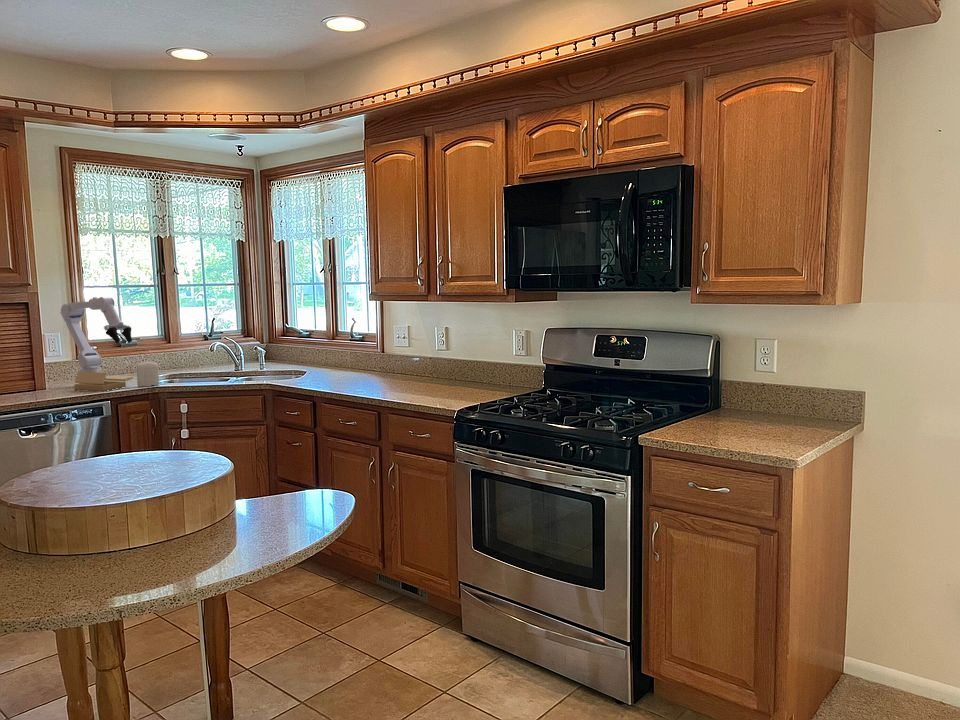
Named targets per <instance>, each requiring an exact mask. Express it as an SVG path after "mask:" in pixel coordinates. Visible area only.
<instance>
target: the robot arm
mask: <svg viewBox="0 0 960 720" xmlns="http://www.w3.org/2000/svg"><path fill="white" fill-rule="evenodd" d="M86 309H89V310H93V311H96V310H98V311H99V310H100V312H101V313H102V314H103V315H104V317H105V319H106V321H107V323H108V324H106V325H104V326H103V329H104V331H105V334H106V335H107V336H109V337H110V338H111V339H112V340H113V341H114V342H115V343H116V344H118V343H119V342H121V340H120V336H119V334H118V331H121V330H122V331H121V333H120V334H121V335H122V336H123V337H124V338H125V340H126V342H127V343H128V344H130V343H132V342H133V339H132V327H131V326H130V325H128V324H125V323H124V322H122V320H121V318H120V316H119V314H118V312H117V310H116V308H115V301H114V298H113V297H103V296H100V297H96V296H95V297H92V298H90V299H89V300H88V301H75V302H74V301H73V302H68V303H64V304H62V306H61V308H60V315H61V316H62V318H63V321H64V322H65V324H66V325H65V326H66V327H67V329H68V330H69V333H70V334H71V336H72V337H71V338H72V339H73V341H74V343H75V345H76V346H77V347H76V348H77V349H78V351H79V353H78V355H77V360H78V361H77V362H78V365H79V367H81V368H80V369H79V371H78V372H96V373H100V369H99V368H100V367H101V366H102V364H103V358H102V356H101V355H100V354H99V353H98V351H96V350H95V349H93V348H92V347H91V345H90V344H89V341H88V340H87V337H86V336H85V334H84V332H83V330H82V327H81V325H80V322H81V321H82V319H83V317H84V315H85V312H86ZM78 384H80V383H78Z"/></svg>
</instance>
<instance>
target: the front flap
mask: <svg viewBox="0 0 960 720" xmlns="http://www.w3.org/2000/svg"><path fill="white" fill-rule="evenodd" d="M106 375H108V373H107V372H99V373H96V372H79V371H78V372H77V373H76V377H75V378H74V383H75V384H79V383H90V384H103V383H104V381H106V380H105V378H106Z"/></svg>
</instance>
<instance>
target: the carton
mask: <svg viewBox="0 0 960 720" xmlns="http://www.w3.org/2000/svg"><path fill="white" fill-rule="evenodd" d="M73 386H74V391H77V390H88V391H87V392H96V391H106V392H108V391H107V390H111V391H113V390H112V389H116V388H122V387H126V388H127V385H126V381H109V380H105V381H104V383H103V384H90V383H80V384H79V383H75V384H73ZM122 389H123V388H122Z"/></svg>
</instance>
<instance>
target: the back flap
mask: <svg viewBox="0 0 960 720" xmlns="http://www.w3.org/2000/svg"><path fill="white" fill-rule="evenodd" d="M132 379H134V376H132V375H131V376H129V375H108V374H107V375H106V378H105V381H115V382H126V381H130V380H132Z"/></svg>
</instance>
